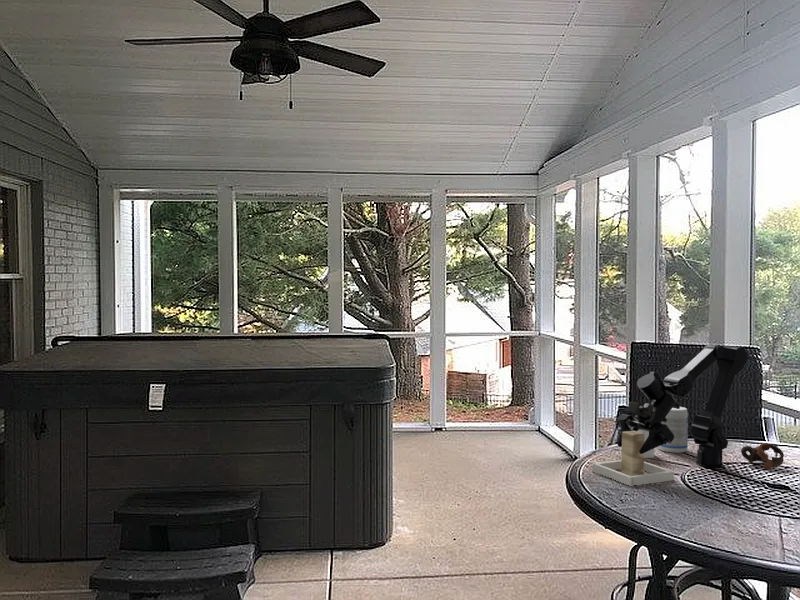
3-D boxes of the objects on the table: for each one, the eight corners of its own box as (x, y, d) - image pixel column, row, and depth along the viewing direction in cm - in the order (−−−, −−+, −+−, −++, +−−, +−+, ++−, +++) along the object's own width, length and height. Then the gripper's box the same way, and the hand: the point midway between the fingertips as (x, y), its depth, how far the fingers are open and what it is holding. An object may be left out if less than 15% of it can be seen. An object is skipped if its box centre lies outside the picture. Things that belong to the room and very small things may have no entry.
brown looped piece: (774, 464, 223) (785, 445, 219) (777, 484, 215) (788, 465, 211) (735, 452, 226) (745, 433, 222) (737, 471, 218) (747, 452, 214)
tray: (634, 466, 217) (634, 458, 217) (674, 480, 202) (674, 471, 202) (592, 471, 211) (592, 463, 211) (630, 486, 196) (630, 477, 196)
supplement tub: (693, 452, 235) (694, 409, 235) (668, 454, 233) (669, 410, 232) (675, 446, 244) (676, 404, 244) (651, 447, 242) (652, 405, 242)
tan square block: (632, 473, 210) (633, 430, 209) (643, 477, 205) (644, 433, 205) (621, 474, 208) (621, 431, 207) (631, 478, 204) (632, 434, 203)
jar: (660, 456, 230) (661, 420, 230) (647, 460, 225) (647, 423, 225) (636, 450, 237) (637, 416, 237) (622, 454, 232) (623, 419, 232)
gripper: (622, 387, 216) (593, 425, 212) (667, 397, 199) (636, 438, 195) (641, 411, 219) (613, 448, 215) (687, 422, 202) (657, 463, 198)
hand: (629, 449), depth 206 cm, fingers open, 9 cm apart
